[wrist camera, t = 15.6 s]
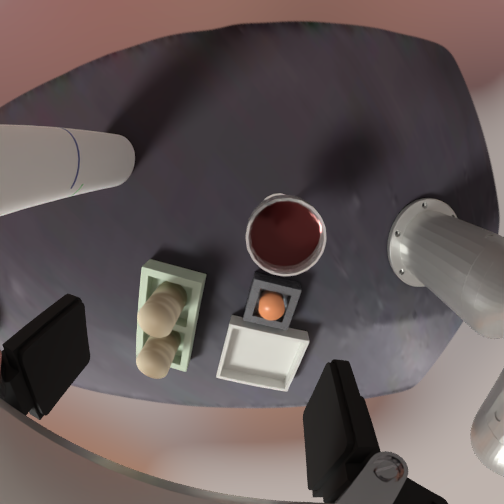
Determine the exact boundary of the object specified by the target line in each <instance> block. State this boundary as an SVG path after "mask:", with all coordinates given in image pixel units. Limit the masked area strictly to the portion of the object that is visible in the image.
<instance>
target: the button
mask: <svg viewBox="0 0 504 504" xmlns="http://www.w3.org/2000/svg"><path fill="white" fill-rule="evenodd" d="M284 311H285V306H284V299H283V295H282V294H281V293H278V292H273V291H269V290H265V291H263V292H262V293H261V295H260V297H259V313H260V315H261V316H262V317H263V318H264V319H266V320H277V319H279V318H280V317H281V316H282V315H283V314H284Z"/></svg>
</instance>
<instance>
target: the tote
mask: <svg viewBox="0 0 504 504" xmlns="http://www.w3.org/2000/svg"><path fill="white" fill-rule="evenodd" d="M309 342H310V341H309V336H308V332H307V331H303V330H298V329H293V328H288V330H283V329H279V328H274V327H269V326H265V325H260V324H256V323H252V322H247V321H243V317H239V316H235V315H232V316H231V319H230V323H229V327H228V331H227V335H226V339H225V343H224V347H223V351H222V355H221V359H220V363H219V366H218V371H217V376H216V378H221V379H225V380H229V381H234V382H238V383H243V384H248V385H253V386H258V387H263V388H269V389H275V390H281V391H288V388H289V386H290V384H291V382H292V380H293V378H294V376H295V373H296V371H297V369H298V367H299V365H300V362H301V360H302V358H303V356H304V353H305V351H306V349H307V346H308V344H309Z"/></svg>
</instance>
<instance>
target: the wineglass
mask: <svg viewBox="0 0 504 504" xmlns="http://www.w3.org/2000/svg"><path fill="white" fill-rule="evenodd" d="M246 243H247V249H248V251H249V253H250V255H251V257H252V259H253V261H254V262H255V263H256V264H257V265H258V266H259V267H260V268H261V269H263V270H265V271H267V272H269V273H271V274H273V275H278V276H284V277H285V276H293V275H298V274H300V273H302V272H305V271H307V270H308V269H310V268H311V267H312V266H313V265H314V264H315V263H317V261H318V260H319V258H320V257H321V255H322V253H323V251H324V248H325V244H326V228H325V225H324V223H323V220H322V218H321V216H320V215H319V214H318V213H317V211H316V210H315V209H314V208H313V207H312V206H311V204H310V203H308V202H307V201H305V200H303V199H302V198H300V197H297V196H292V195H287V194H281V193H279V194H273V195H270V196H268V197H267V198H266V199H265V200H264V201H263V202H262V203H260V204H259V205H258V206H257V207H256V208H255V209H254V211H253V212H252V214H251V216H250V218H249V220H248V225H247V230H246Z"/></svg>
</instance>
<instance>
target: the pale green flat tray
mask: <svg viewBox="0 0 504 504" xmlns="http://www.w3.org/2000/svg"><path fill="white" fill-rule="evenodd" d="M206 275H207V274H204V273H200V272H197V271H193V270H189V269H185V268H181V267H178V266H174V265H170V264H167V263H163V262H159V261H156V260H152V259H150V260H149V261H148V262H146V263H145V264H144V265H143V266H142V271H141V281H140V291H139V304H138V312H139V310H140V309H141V308H142V306H143V305H144V304H145V303H146V301H147V300H148V299H149V297H150V296H151V295H152V294H153V292H154V291H155V290H156V289H157V287H158V286H159V285H160V284H161V283H163V282H165V281H168V282H172V283H175V284H179V285H181V286H182V287H183V288H184V289H185V291H186V294H187V302H186V304H185V306H184V308H183V310H182V312H181V314H180V316H179V318H178V320H177V322H176V323H175V325H174V327H173V329H172V330H175V331H178V332H179V334H180V336H181V343H180V345H179V347H178V350H177V352H176V354H175V357H174V359H173V361H172V364H171V366H170V367H171V368H174V369H178V370H181V371H185V372H186V371H187V368H188V365H189V362H190V359H191V353H192V347H193V342H194V336H195V331H196V326H197V320H198V315H199V310H200V305H201V300H202V295H203V290H204V285H205V280H206ZM149 336H150V335H148V334H147V333H145V332H144V331H143V330H142V329H141V327H140V325H139V323H138V319H137V338H136V356H138V355H139V353H140V351H141V350H142V348H143V346H144V345H145V343H146V341H147V340H148V338H149Z"/></svg>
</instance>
